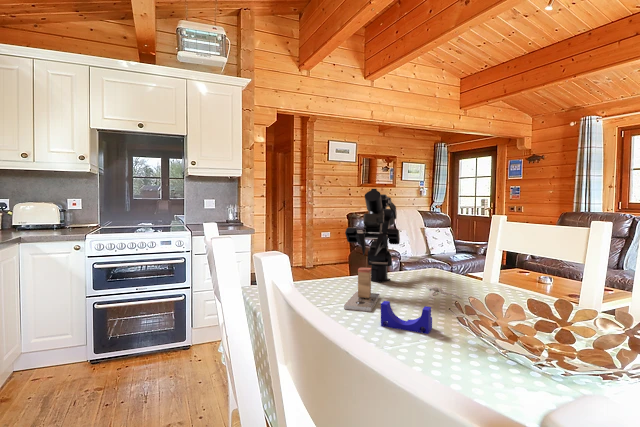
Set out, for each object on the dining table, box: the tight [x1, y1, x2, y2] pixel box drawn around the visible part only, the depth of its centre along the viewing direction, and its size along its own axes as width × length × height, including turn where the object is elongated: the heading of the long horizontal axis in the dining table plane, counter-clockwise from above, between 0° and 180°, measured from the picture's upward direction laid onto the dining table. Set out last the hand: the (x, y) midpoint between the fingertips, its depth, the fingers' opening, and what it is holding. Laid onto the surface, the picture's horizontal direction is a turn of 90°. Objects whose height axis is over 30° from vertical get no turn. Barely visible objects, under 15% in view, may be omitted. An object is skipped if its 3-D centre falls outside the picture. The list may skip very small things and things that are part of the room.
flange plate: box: [343, 291, 381, 313], centre depth 114 cm, size 16×8×2 cm, turn 162°
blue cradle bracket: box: [380, 300, 433, 335], centre depth 93 cm, size 12×4×6 cm, turn 62°
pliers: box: [425, 284, 463, 300], centre depth 126 cm, size 10×2×15 cm
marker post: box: [357, 267, 372, 298], centre depth 116 cm, size 4×4×9 cm
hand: (369, 254), depth 124 cm, fingers open, 4 cm apart
